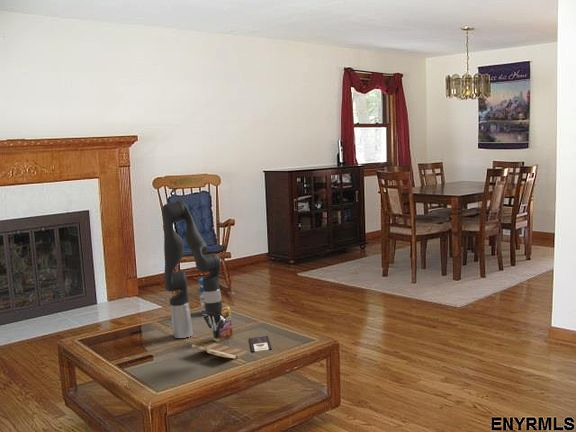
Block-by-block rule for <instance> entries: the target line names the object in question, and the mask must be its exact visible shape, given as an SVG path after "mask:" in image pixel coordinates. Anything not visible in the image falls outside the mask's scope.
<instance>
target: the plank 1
mask: <svg viewBox="0 0 576 432" xmlns="http://www.w3.org/2000/svg"><path fill="white" fill-rule="evenodd" d="M191 347H192V348H196V349H199V350H203V351H205V350H206V352H207V351H208V350H212V351H217V350H213V349H209V348H205V347H206V346H201V345H197V344H191Z"/></svg>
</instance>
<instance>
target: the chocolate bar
mask: <svg viewBox="0 0 576 432" xmlns="http://www.w3.org/2000/svg"><path fill="white" fill-rule="evenodd" d="M249 344H250V349H251V353H260V352H265V351H266V352H267V350H268V351H272V344H271V341H270V338H269V335H264V336H263V335H262V336H257V337H249Z"/></svg>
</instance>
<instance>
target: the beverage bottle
mask: <svg viewBox="0 0 576 432" xmlns="http://www.w3.org/2000/svg"><path fill="white" fill-rule="evenodd" d="M203 278H204V277H202V278H201V277H200V278H199V279H198V282H199V283H198V284H199V286H200V287H199V290H198V292H199V299H200V301H199V302H200V307H201V308H200V309H201V314H202V316H206V315H207V312H206V311H205V304H204V291H203V282H202V280H203Z"/></svg>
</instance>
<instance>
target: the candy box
mask: <svg viewBox="0 0 576 432" xmlns="http://www.w3.org/2000/svg"><path fill="white" fill-rule="evenodd" d="M221 313H222V317H223V318H224V319H225V318H226V319H227V321H226V323H225V325H224V327H223V328H222V329H220V338H218V339H215V338H214V334H213V333H212V336H213V337H212V338H213V341H215V342H216V343H218V342H222V341H224V340H228V339H232V338H233V336H234V335H233V325H232V324H233V323H232V314H231V313H232V312H231V307H229V306H227V305H226V306H222V310H221Z"/></svg>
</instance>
